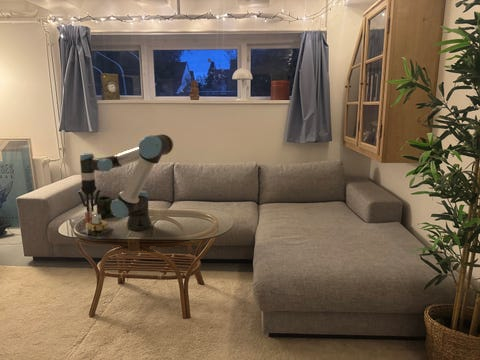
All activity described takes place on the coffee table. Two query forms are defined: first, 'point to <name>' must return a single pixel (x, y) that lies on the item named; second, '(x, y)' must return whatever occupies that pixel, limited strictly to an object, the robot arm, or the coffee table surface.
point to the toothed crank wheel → (95, 227)
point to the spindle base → (96, 221)
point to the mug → (104, 206)
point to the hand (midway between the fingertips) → (90, 216)
